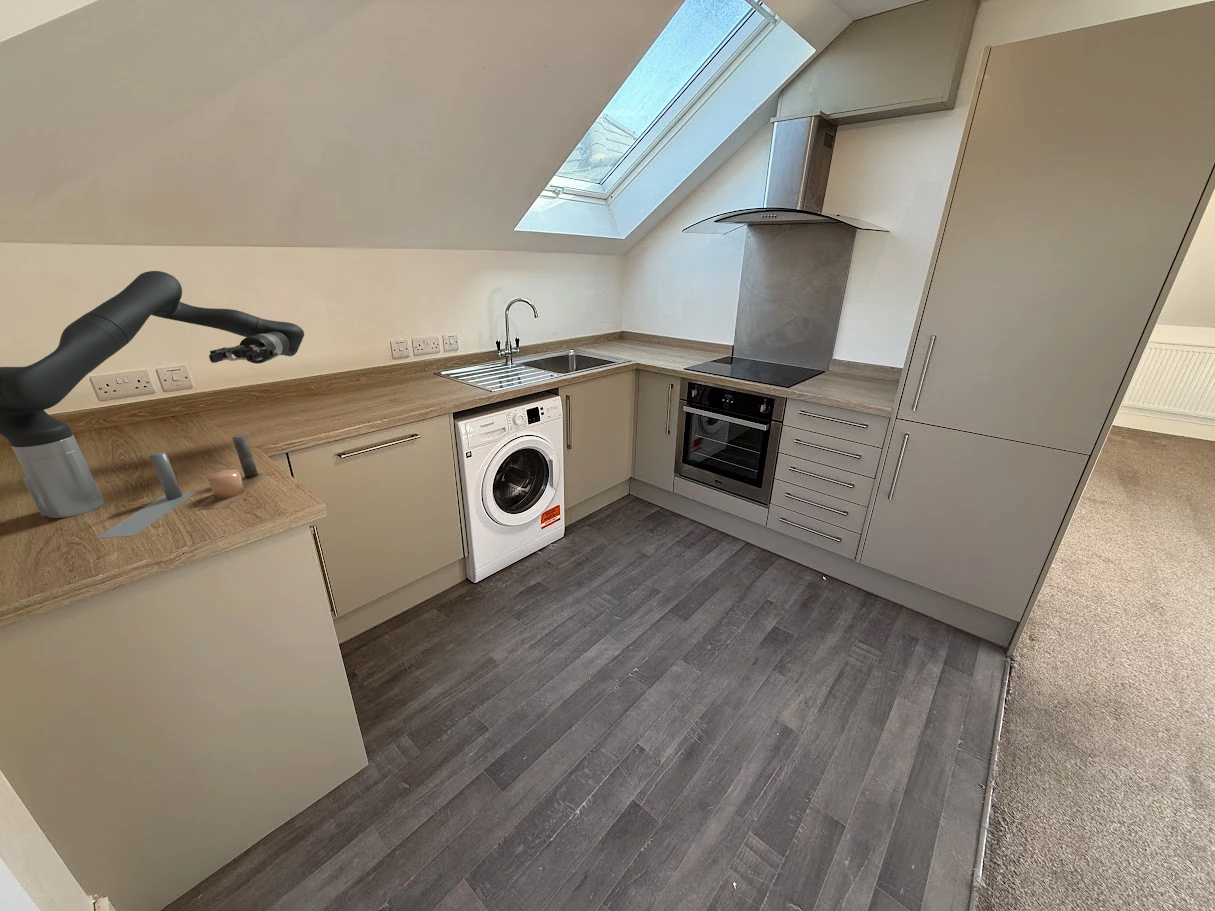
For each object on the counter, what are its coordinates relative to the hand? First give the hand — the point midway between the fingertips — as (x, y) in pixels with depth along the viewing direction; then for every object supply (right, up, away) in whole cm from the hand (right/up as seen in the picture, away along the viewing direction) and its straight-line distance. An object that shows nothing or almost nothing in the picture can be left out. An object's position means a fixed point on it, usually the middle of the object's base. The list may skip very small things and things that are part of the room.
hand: (229, 358), depth 123 cm
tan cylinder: (+6, -34, -8) cm, 36 cm away
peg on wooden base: (+6, -35, -6) cm, 36 cm away
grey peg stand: (-4, -39, -17) cm, 43 cm away
